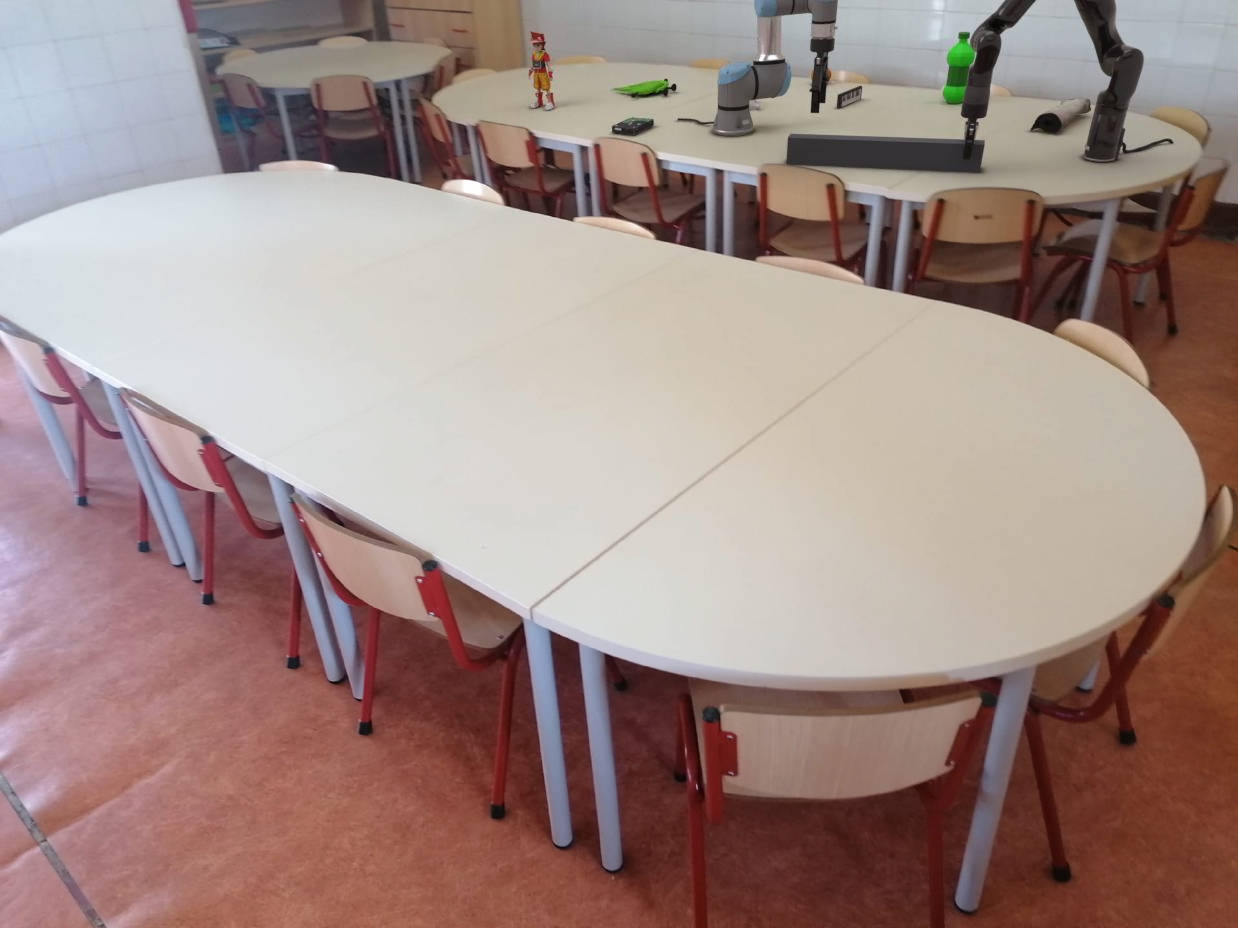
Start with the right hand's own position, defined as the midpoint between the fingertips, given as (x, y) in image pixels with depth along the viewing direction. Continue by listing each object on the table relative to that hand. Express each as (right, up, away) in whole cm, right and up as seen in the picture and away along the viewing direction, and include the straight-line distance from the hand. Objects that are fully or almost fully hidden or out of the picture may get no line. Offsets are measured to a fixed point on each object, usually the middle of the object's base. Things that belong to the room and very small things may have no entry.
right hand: (966, 156), depth 283 cm
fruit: (-22, +69, +109) cm, 131 cm away
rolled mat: (+49, +25, +39) cm, 68 cm away
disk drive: (-105, +32, +62) cm, 126 cm away
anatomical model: (-58, +49, +83) cm, 113 cm away
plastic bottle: (+23, +46, +72) cm, 88 cm away
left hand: (-44, +20, +12) cm, 50 cm away
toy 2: (-100, +68, +114) cm, 166 cm away
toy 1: (-143, +55, +100) cm, 183 cm away
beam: (-24, 0, +10) cm, 26 cm away
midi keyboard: (-17, +48, +78) cm, 93 cm away
